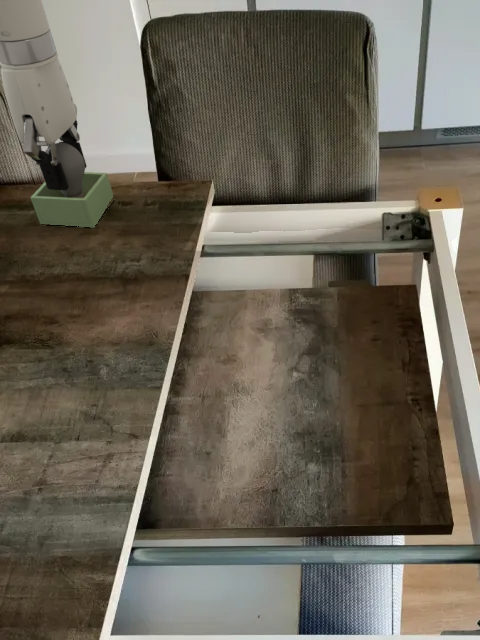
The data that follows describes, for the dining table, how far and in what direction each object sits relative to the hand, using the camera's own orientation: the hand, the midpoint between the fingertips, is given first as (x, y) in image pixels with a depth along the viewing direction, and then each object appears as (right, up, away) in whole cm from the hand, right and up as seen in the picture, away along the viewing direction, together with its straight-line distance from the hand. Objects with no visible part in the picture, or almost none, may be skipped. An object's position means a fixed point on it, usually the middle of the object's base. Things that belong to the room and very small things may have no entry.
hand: (67, 177), depth 100 cm
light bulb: (0, -4, +4) cm, 5 cm away
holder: (0, -4, +4) cm, 6 cm away
